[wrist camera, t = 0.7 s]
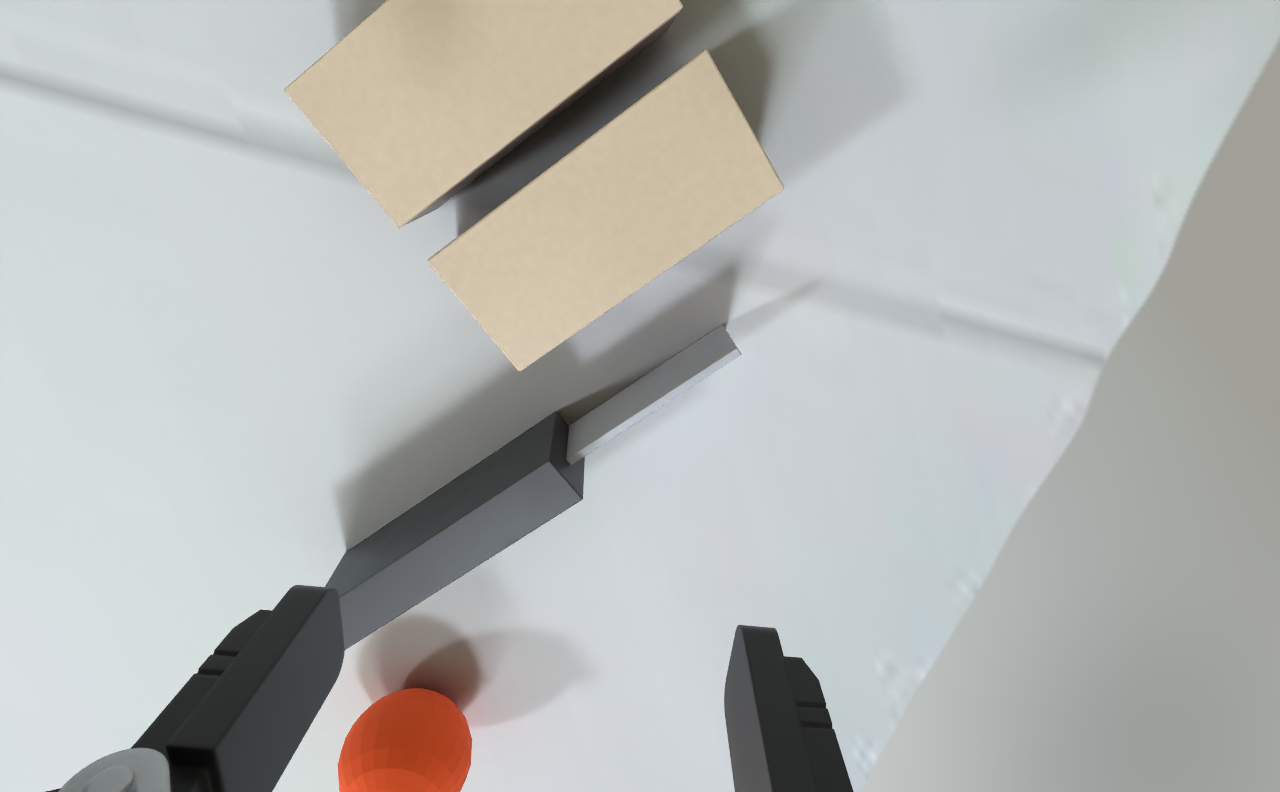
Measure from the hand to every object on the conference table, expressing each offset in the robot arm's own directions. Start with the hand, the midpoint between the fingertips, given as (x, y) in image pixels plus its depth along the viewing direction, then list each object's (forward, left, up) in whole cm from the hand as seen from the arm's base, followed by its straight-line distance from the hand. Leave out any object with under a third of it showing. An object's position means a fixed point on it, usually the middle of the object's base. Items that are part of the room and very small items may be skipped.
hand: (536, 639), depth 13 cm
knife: (+3, -5, -18) cm, 19 cm away
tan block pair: (-8, +5, -18) cm, 21 cm away
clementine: (+13, -21, -19) cm, 31 cm away
